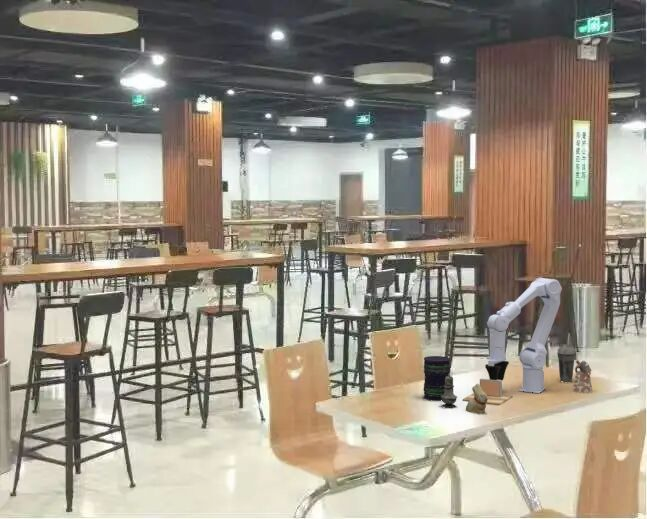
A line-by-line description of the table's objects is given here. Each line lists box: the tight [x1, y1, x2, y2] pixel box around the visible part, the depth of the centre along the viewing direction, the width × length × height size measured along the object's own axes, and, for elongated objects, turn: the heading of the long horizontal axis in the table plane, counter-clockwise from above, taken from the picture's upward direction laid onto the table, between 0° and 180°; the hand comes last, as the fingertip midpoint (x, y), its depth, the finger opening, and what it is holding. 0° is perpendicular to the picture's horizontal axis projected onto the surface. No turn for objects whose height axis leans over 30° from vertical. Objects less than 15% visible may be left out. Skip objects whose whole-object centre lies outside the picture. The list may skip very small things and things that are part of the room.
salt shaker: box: [441, 373, 458, 409], centre depth 295 cm, size 6×6×12 cm
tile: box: [479, 378, 503, 397], centre depth 309 cm, size 2×8×6 cm, turn 59°
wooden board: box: [462, 392, 514, 406], centre depth 306 cm, size 15×14×1 cm
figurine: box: [572, 359, 593, 394], centre depth 319 cm, size 7×7×12 cm
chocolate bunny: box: [465, 383, 488, 414], centre depth 287 cm, size 6×8×10 cm
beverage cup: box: [557, 332, 577, 382], centre depth 336 cm, size 7×7×20 cm
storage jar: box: [423, 355, 451, 402], centre depth 308 cm, size 10×10×15 cm
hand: (496, 381), depth 315 cm, fingers open, 7 cm apart
